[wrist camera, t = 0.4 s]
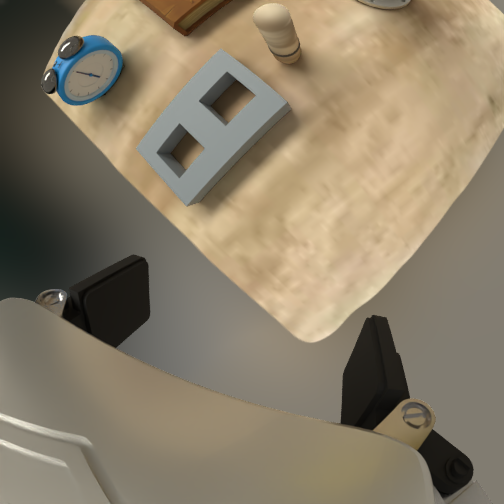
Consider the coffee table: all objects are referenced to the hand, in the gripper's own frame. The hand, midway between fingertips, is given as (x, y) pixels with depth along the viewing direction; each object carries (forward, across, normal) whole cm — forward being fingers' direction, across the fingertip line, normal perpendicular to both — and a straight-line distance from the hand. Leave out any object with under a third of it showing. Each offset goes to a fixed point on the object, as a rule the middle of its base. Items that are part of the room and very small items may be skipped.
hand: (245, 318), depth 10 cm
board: (+29, +16, -10) cm, 35 cm away
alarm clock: (+30, +40, -21) cm, 54 cm away
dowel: (+29, +6, -23) cm, 38 cm away
